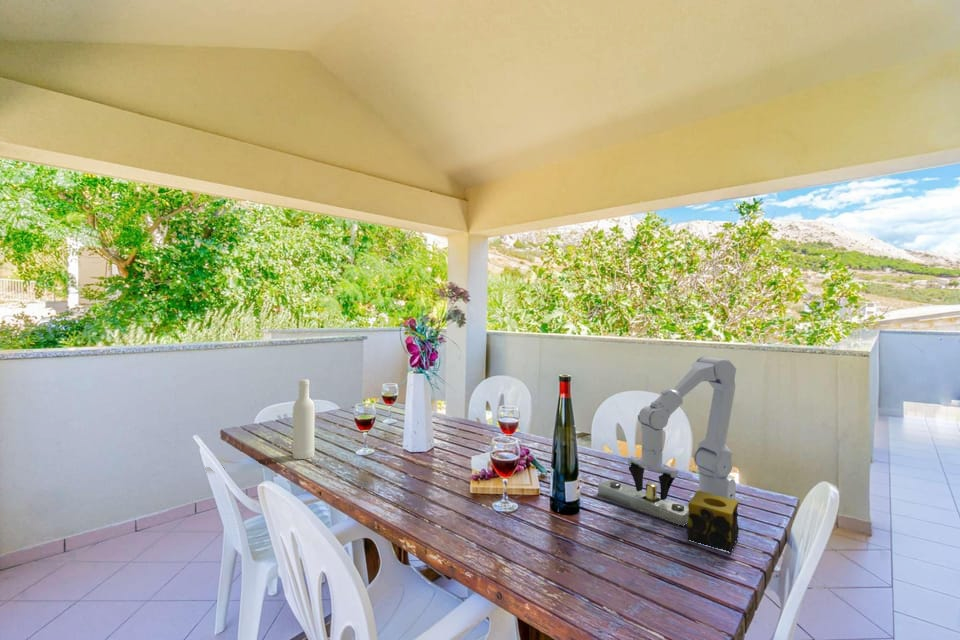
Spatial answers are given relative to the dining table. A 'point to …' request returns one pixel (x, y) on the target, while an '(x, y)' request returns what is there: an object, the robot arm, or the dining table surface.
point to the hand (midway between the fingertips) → (651, 494)
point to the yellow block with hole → (713, 520)
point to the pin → (651, 492)
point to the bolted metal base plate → (644, 502)
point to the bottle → (303, 423)
